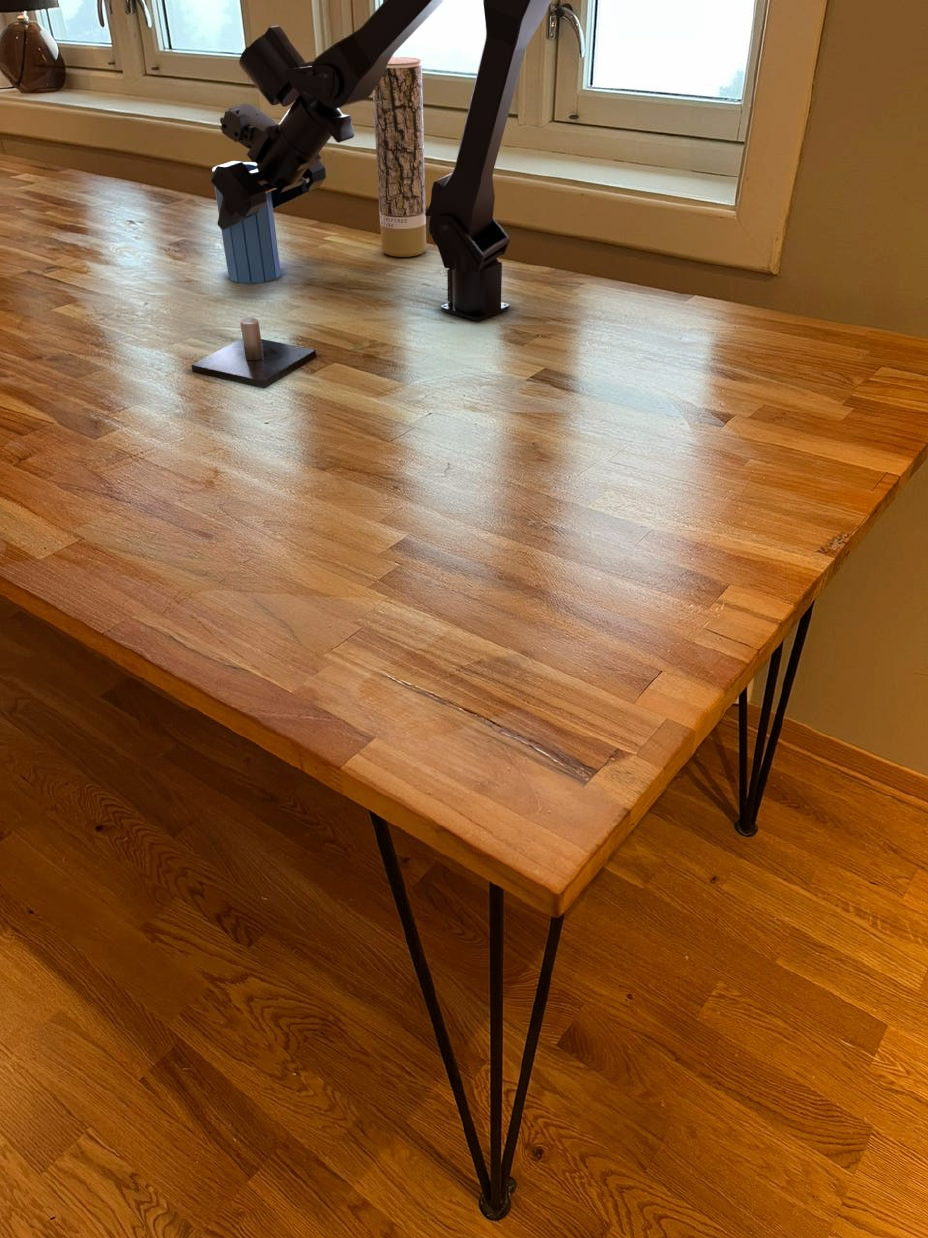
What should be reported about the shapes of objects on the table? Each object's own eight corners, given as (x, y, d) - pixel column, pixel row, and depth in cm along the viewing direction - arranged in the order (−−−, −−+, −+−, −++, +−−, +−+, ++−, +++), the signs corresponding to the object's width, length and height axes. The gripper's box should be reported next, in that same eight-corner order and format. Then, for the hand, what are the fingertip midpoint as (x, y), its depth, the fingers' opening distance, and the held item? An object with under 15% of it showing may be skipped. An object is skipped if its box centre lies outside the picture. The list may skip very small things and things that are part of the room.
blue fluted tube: (290, 274, 132) (278, 167, 124) (249, 286, 128) (234, 176, 119) (259, 264, 136) (245, 159, 128) (218, 275, 132) (201, 168, 123)
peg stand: (316, 356, 108) (312, 313, 105) (264, 388, 101) (258, 343, 98) (247, 342, 112) (241, 300, 109) (192, 371, 105) (184, 327, 102)
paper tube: (420, 259, 137) (414, 64, 122) (376, 257, 139) (365, 62, 123) (431, 246, 143) (426, 57, 128) (388, 244, 144) (378, 56, 129)
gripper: (298, 72, 122) (241, 155, 133) (210, 92, 109) (154, 184, 120) (354, 143, 125) (293, 220, 135) (274, 172, 111) (214, 255, 122)
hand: (241, 218), depth 128 cm, fingers open, 9 cm apart
